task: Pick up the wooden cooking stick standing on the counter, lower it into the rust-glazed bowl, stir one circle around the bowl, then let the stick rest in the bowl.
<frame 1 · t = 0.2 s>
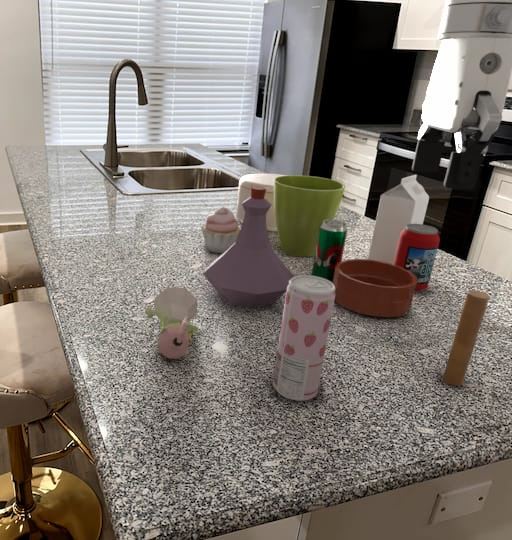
hand: (440, 179, 63), 27 cm above the worktop, tool pointing down, fingers open, 9 cm apart
flower pot: (298, 252, 117), on the worktop
flask: (246, 297, 93), on the worktop
milk carton: (389, 264, 112), on the worktop
beverage can: (407, 287, 100), on the worktop
container: (268, 223, 137), on the worktop
figurine: (168, 342, 77), on the worktop
cupcake: (219, 250, 116), on the worktop
soda can: (323, 282, 101), on the worktop
stick: (452, 380, 70), on the worktop
beverage can 2: (294, 390, 67), on the worktop
bowl: (368, 303, 92), on the worktop
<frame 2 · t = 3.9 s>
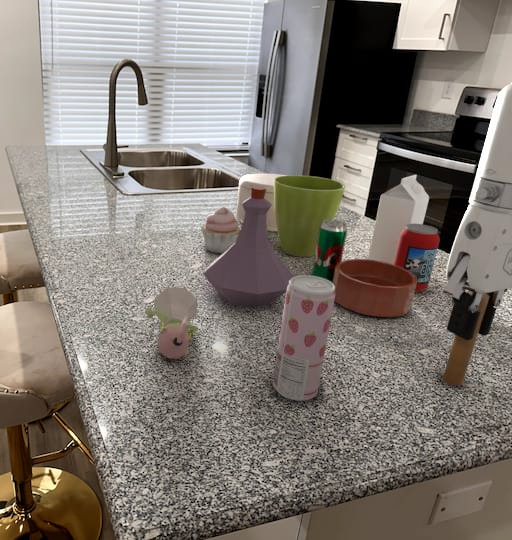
hand: (467, 331, 67), 8 cm above the worktop, tool pointing down, fingers closed on stick, 2 cm apart
stick: (452, 380, 70), on the worktop, touching gripper
everything else where it was.
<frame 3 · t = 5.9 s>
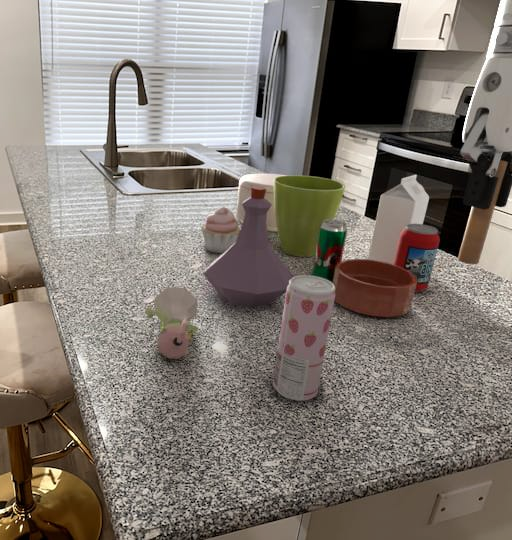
hand: (483, 204, 64), 24 cm above the worktop, tool pointing down, fingers closed on stick, 2 cm apart
stick: (468, 260, 67), point 16 cm above the worktop, touching gripper
everything else where it was.
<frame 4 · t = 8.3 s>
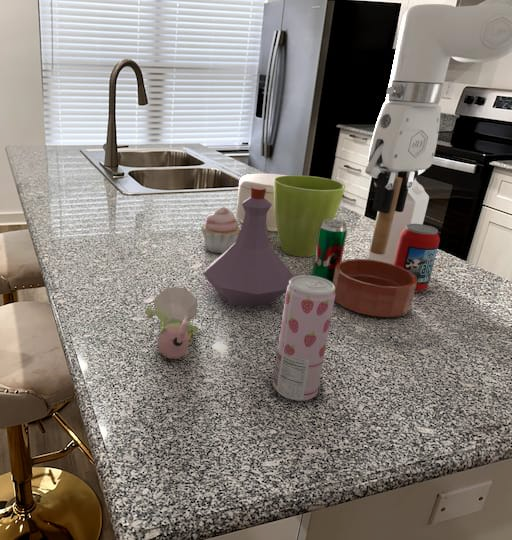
hand: (387, 209, 86), 17 cm above the worktop, tool pointing down, fingers closed on stick, 2 cm apart
stick: (377, 252, 89), point 10 cm above the worktop, touching gripper
everything else where it was.
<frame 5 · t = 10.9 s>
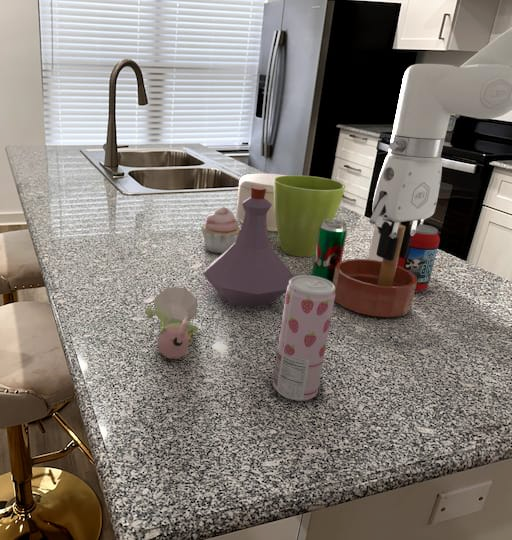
hand: (391, 256, 88), 9 cm above the worktop, tool pointing down, fingers closed on stick, 2 cm apart
stick: (382, 296, 91), point 2 cm above the worktop, touching gripper
everything else where it was.
when the fingers open (8 cm above the worktop, at t = 12.7 s): stick stays where it is, resting on bowl.
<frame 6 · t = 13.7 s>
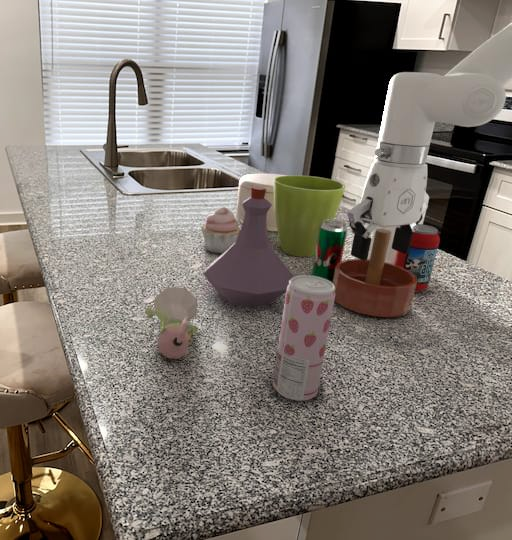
hand: (379, 254, 89), 9 cm above the worktop, tool pointing down, fingers open, 9 cm apart
stick: (368, 299, 92), point 1 cm above the worktop, touching bowl
everything else where it was.
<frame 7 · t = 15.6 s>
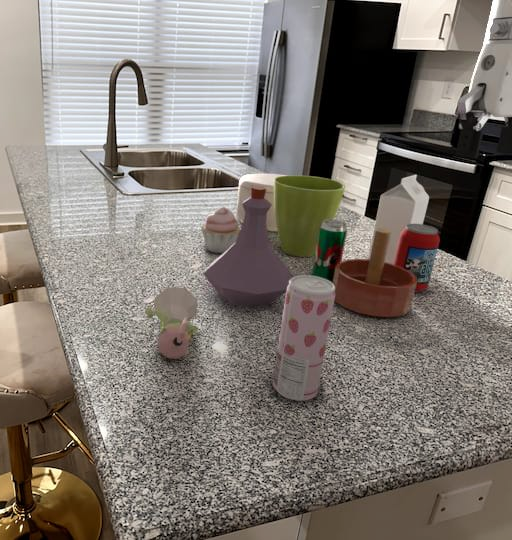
hand: (487, 154, 80), 27 cm above the worktop, tool pointing down, fingers open, 9 cm apart
nothing on the worktop moved.
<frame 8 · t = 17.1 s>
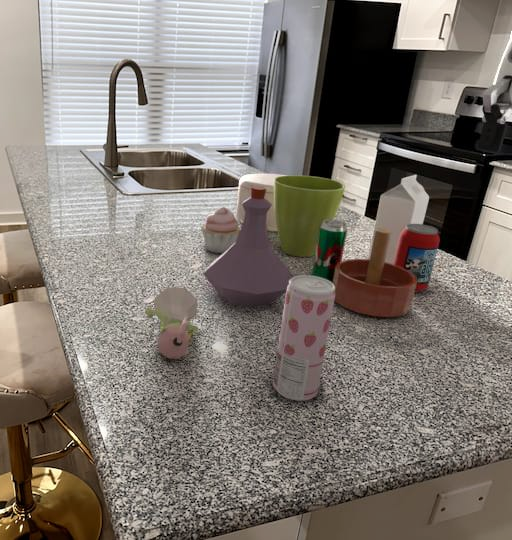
hand: (508, 149, 79), 28 cm above the worktop, tool pointing down, fingers open, 9 cm apart
nothing on the worktop moved.
at the end: stick inside the target area in the bowl (0.1 cm from its centre), point 0.6 cm above the bowl's base; stick moved 24.4 cm from its start; the gripper is holding nothing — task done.
